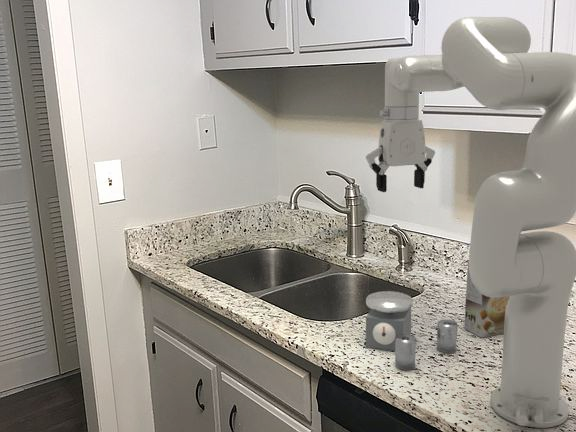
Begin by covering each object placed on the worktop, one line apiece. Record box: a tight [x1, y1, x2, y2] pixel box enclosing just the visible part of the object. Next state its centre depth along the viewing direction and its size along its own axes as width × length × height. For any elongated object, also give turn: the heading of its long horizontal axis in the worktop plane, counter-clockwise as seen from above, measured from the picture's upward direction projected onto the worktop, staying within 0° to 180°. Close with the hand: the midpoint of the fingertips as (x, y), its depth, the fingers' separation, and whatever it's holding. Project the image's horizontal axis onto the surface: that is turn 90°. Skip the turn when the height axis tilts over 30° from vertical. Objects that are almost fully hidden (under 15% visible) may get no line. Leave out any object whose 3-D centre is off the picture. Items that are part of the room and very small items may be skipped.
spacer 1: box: [394, 334, 417, 372], centre depth 120 cm, size 4×4×6 cm
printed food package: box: [463, 260, 510, 339], centre depth 135 cm, size 9×6×16 cm
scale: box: [365, 307, 412, 352], centre depth 131 cm, size 11×8×7 cm
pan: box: [365, 290, 414, 313], centre depth 131 cm, size 10×10×2 cm
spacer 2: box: [436, 319, 458, 355], centre depth 127 cm, size 4×4×6 cm
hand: (400, 189), depth 139 cm, fingers open, 9 cm apart
